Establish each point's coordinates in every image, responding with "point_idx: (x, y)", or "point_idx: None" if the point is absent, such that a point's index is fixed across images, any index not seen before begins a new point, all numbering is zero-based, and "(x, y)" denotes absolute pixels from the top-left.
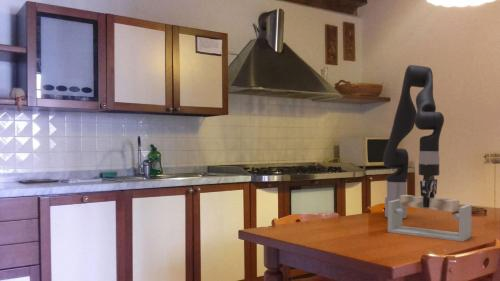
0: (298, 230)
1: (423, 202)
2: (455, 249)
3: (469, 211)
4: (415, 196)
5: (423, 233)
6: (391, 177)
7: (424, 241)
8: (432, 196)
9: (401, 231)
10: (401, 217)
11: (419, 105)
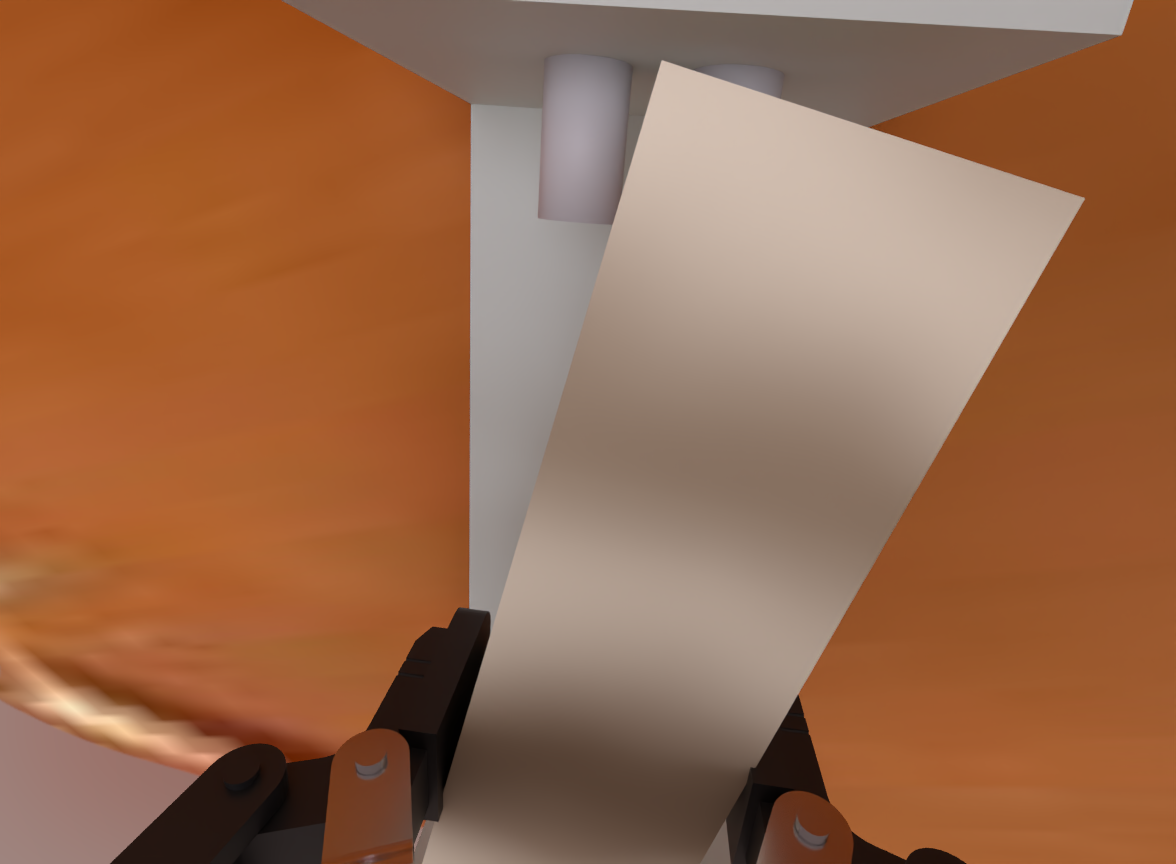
0: None
1: (435, 659)
2: (198, 683)
3: None
4: (695, 533)
5: (491, 457)
6: None
7: (299, 488)
8: (748, 852)
9: (471, 236)
10: (868, 111)
11: None
